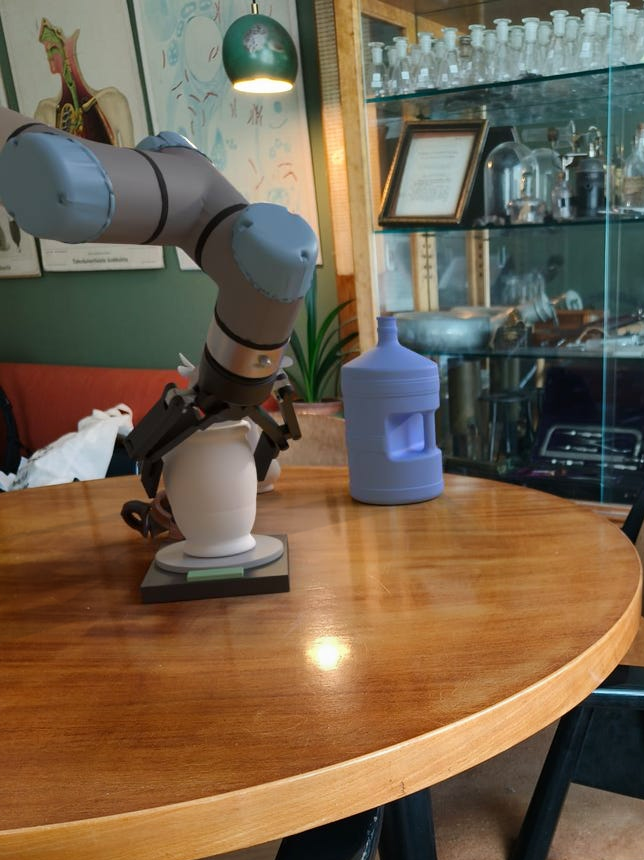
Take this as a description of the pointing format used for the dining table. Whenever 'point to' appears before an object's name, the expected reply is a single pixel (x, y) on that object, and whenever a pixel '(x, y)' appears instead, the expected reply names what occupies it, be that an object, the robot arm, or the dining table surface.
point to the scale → (217, 572)
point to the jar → (213, 489)
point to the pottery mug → (152, 517)
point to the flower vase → (254, 432)
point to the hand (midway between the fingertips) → (204, 480)
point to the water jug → (391, 422)
